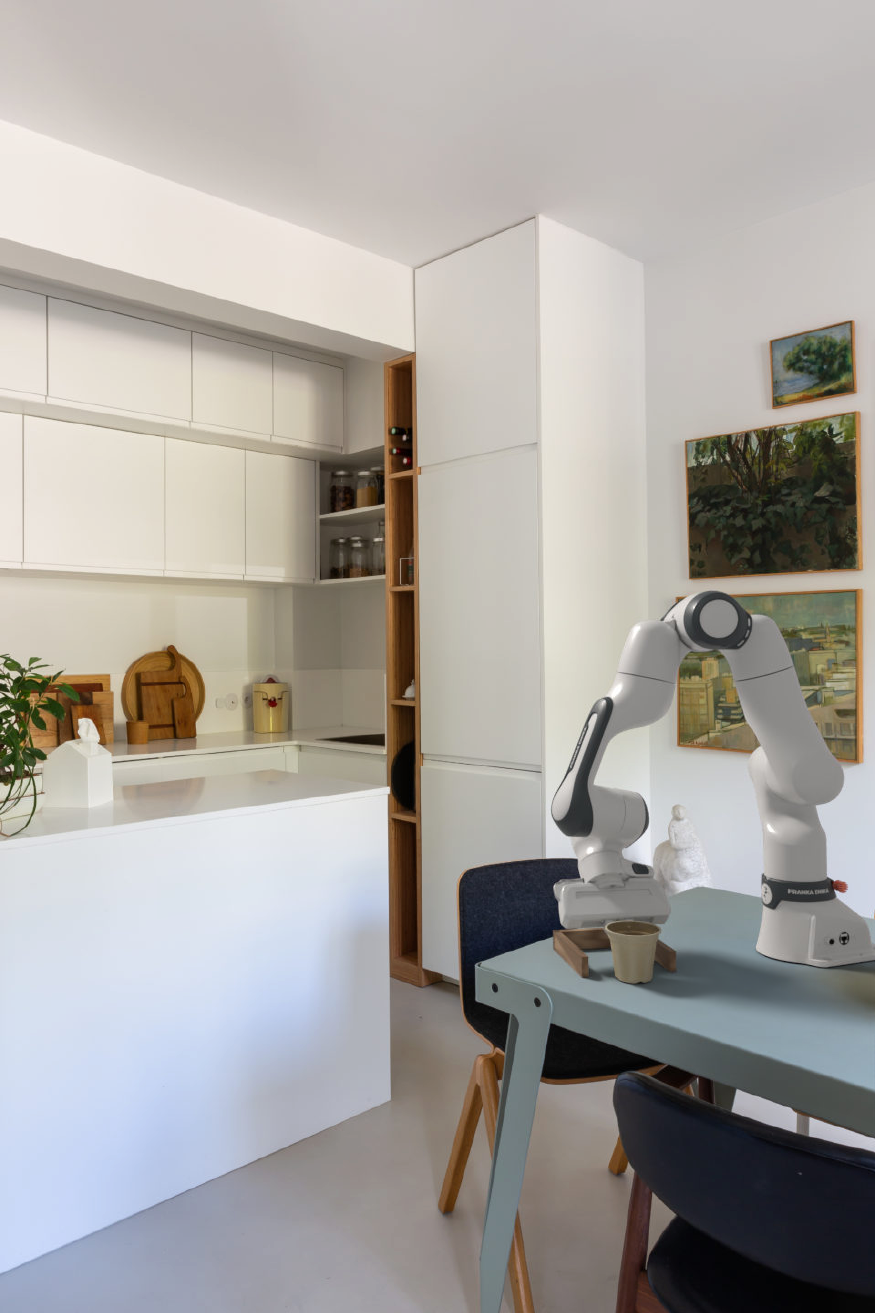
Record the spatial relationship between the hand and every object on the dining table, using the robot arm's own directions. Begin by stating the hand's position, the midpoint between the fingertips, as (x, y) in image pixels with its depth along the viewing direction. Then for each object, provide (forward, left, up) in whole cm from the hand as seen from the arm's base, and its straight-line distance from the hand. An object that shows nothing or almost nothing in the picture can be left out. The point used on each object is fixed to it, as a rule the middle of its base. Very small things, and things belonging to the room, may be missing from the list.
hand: (624, 946), depth 163 cm
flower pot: (0, +4, -5) cm, 6 cm away
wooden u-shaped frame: (0, -7, -4) cm, 8 cm away
